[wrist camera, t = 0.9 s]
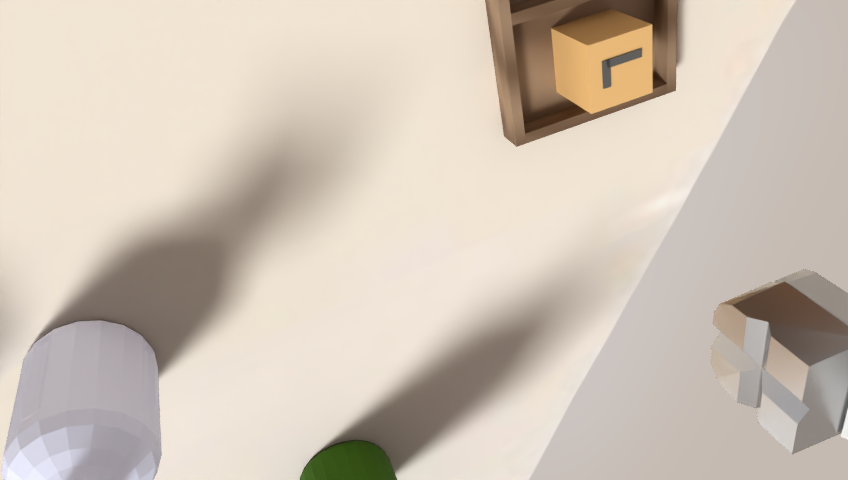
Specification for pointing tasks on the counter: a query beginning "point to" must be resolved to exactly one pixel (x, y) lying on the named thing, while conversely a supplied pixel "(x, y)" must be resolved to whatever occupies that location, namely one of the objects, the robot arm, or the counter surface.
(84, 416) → the soap bottle
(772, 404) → the robot arm
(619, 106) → the organiser
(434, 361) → the counter surface
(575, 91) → the letter cube
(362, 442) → the wine bottle
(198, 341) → the counter surface
